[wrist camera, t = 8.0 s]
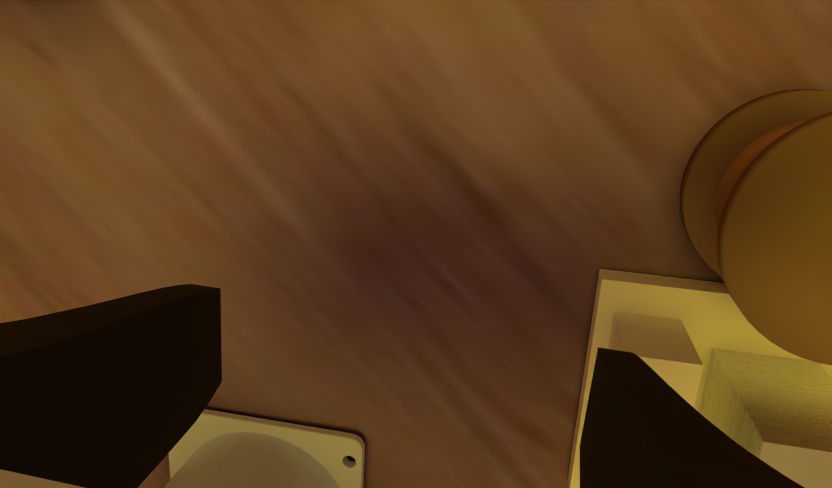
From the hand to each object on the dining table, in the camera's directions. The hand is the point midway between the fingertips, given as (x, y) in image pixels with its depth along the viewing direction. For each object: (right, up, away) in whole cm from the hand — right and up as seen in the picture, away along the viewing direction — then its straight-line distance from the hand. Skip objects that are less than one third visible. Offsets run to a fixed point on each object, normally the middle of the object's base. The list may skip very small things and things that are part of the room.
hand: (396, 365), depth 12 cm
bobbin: (+11, +4, +7) cm, 14 cm away
